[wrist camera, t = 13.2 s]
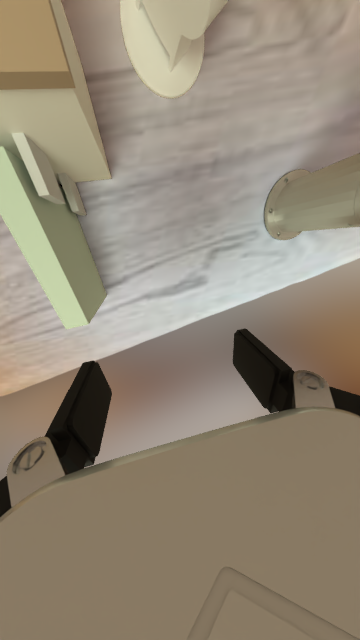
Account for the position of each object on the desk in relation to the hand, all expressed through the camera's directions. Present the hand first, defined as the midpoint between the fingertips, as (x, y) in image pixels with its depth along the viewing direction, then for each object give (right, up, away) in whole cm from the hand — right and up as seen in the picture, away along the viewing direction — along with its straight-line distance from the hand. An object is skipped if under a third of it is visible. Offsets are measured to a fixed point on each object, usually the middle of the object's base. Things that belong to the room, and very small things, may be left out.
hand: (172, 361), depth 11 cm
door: (-18, +16, +19) cm, 31 cm away
